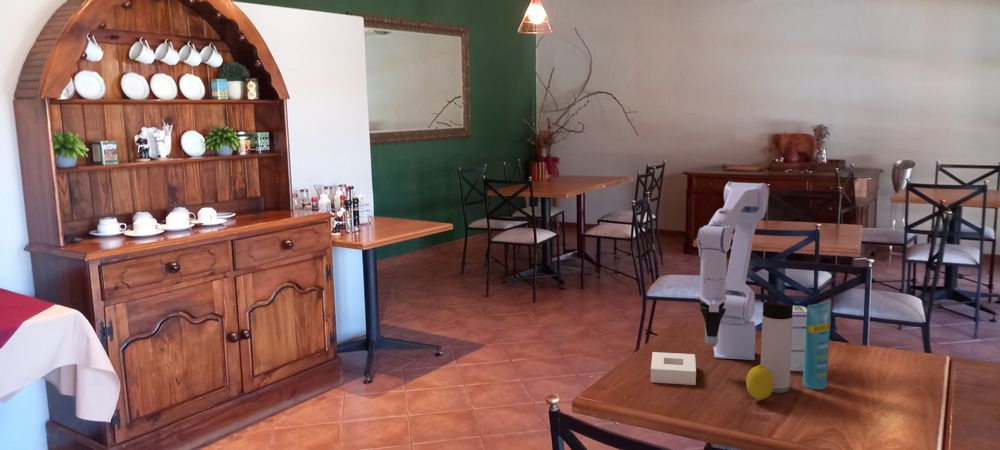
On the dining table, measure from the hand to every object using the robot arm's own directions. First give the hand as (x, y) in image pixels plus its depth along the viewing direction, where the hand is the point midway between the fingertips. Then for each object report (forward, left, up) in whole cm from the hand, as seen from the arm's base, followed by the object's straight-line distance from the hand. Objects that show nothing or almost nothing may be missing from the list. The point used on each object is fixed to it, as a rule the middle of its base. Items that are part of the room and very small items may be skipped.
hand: (711, 334), depth 179 cm
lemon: (-9, +16, -10) cm, 21 cm away
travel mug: (-13, +8, -10) cm, 18 cm away
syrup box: (-19, -7, -10) cm, 23 cm away
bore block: (+9, +3, -9) cm, 13 cm away
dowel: (0, 0, -2) cm, 2 cm away
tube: (-22, +5, -10) cm, 25 cm away
